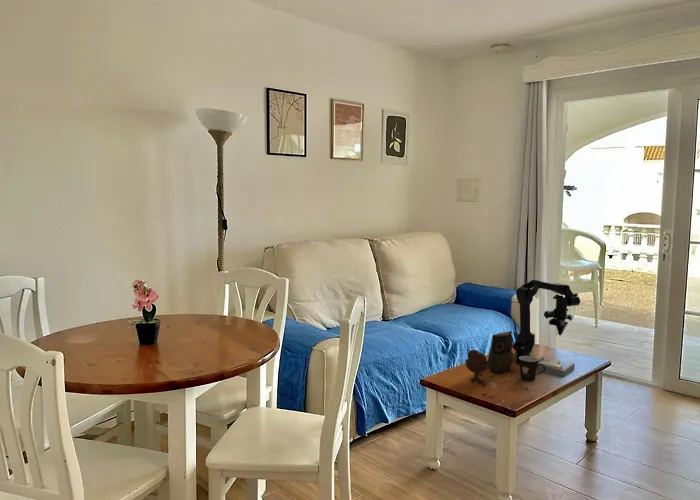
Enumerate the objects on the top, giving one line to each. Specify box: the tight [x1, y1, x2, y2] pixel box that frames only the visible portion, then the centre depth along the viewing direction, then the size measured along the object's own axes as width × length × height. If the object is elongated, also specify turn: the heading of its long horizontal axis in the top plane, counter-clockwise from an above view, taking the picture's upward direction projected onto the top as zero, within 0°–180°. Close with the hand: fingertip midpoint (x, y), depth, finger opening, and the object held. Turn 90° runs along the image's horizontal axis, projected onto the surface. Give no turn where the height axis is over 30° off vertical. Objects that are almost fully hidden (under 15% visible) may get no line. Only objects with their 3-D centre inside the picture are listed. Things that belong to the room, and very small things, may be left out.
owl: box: [487, 330, 514, 375], centre depth 254 cm, size 13×13×20 cm
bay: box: [536, 356, 576, 378], centre depth 257 cm, size 15×16×3 cm
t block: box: [539, 358, 563, 370], centre depth 256 cm, size 10×10×4 cm
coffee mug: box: [518, 356, 545, 382], centre depth 242 cm, size 12×9×10 cm
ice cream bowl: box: [464, 349, 489, 383], centre depth 240 cm, size 11×11×15 cm
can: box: [517, 331, 536, 357], centre depth 281 cm, size 9×9×12 cm
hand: (560, 335), depth 276 cm, fingers closed
